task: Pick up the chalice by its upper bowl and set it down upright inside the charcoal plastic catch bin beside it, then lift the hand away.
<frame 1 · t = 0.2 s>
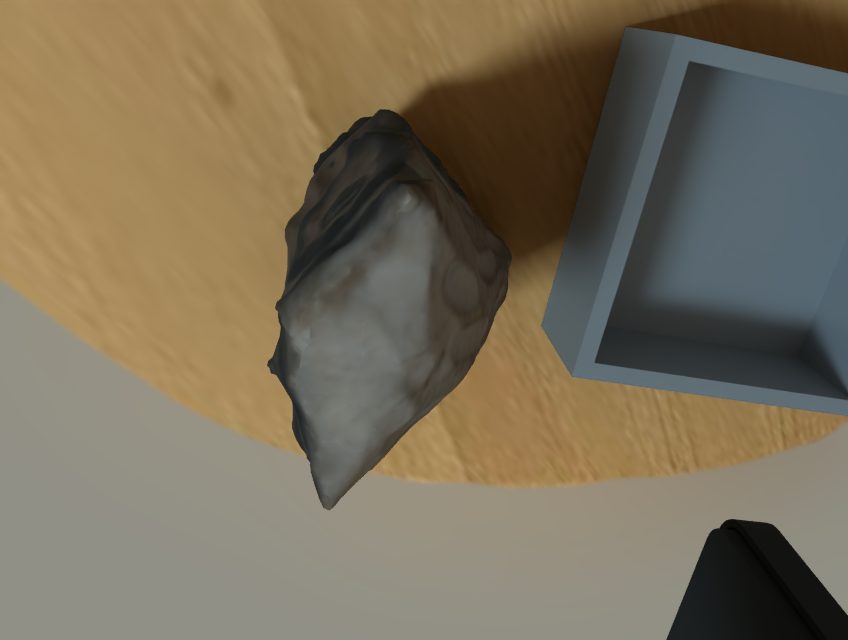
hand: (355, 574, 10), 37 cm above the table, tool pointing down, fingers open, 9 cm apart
catch bin: (720, 212, 48), on the table
grey faceted rock: (396, 238, 47), on the table
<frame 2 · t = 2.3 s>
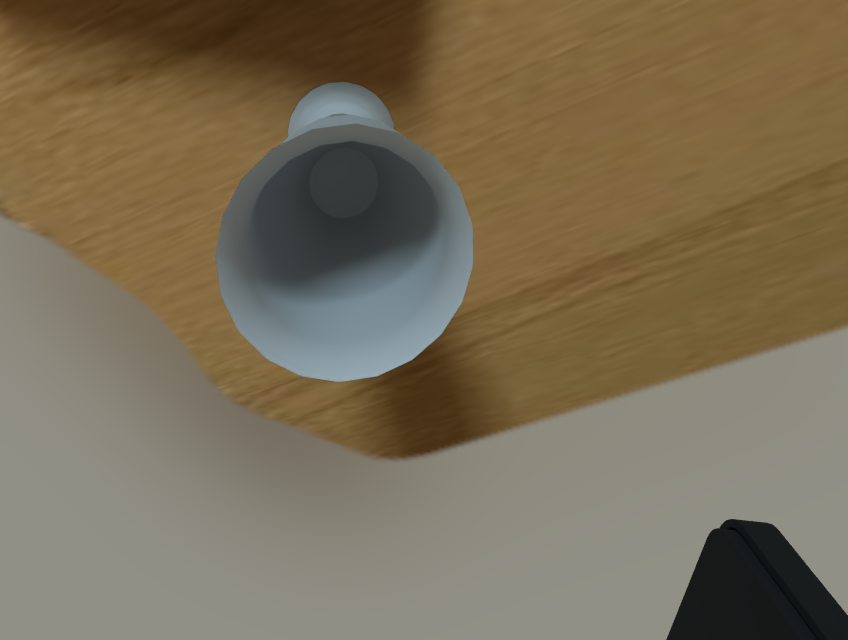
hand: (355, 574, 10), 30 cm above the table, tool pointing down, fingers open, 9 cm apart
chalice: (341, 136, 38), on the table
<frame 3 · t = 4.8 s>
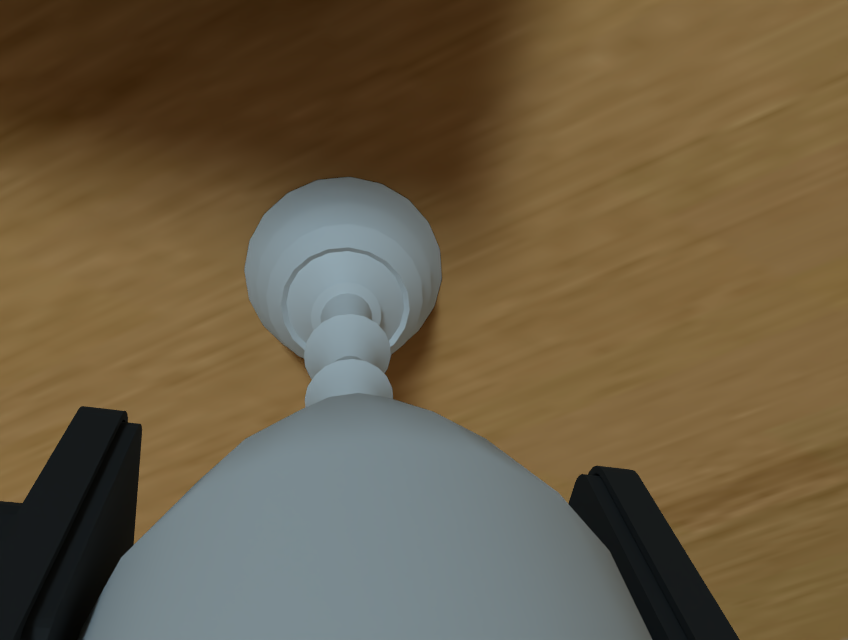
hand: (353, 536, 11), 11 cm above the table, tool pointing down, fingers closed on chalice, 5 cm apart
chalice: (344, 272, 21), on the table, touching gripper
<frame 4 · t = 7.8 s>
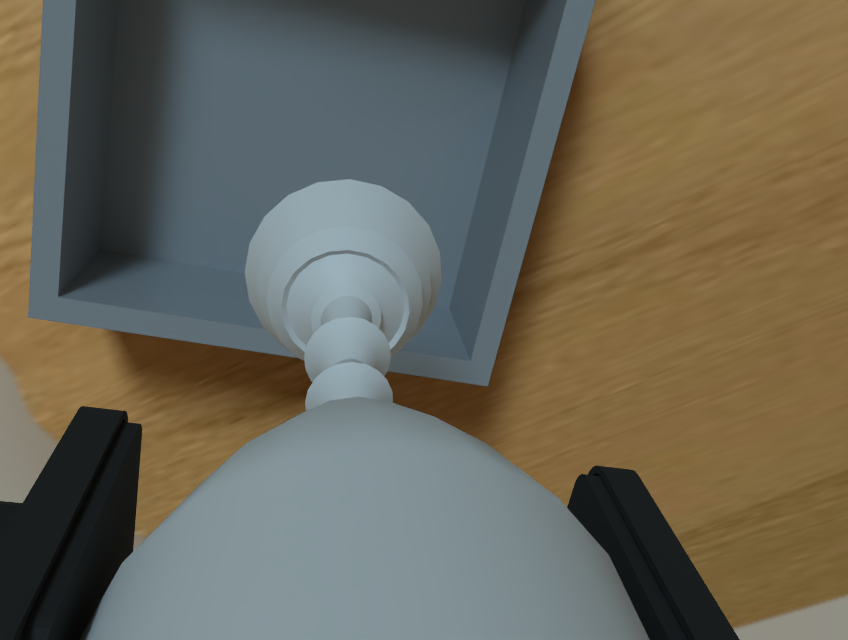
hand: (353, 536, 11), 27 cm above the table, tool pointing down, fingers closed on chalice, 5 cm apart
catch bin: (311, 101, 35), on the table
chalice: (344, 274, 21), point 16 cm above the table, touching gripper
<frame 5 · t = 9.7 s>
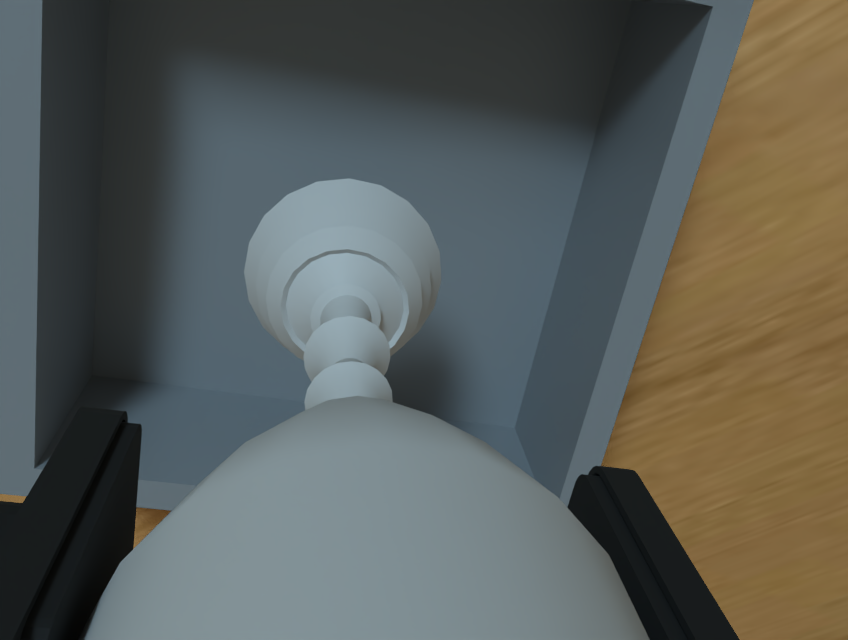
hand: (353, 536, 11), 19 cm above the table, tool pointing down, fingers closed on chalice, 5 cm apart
catch bin: (345, 191, 28), on the table
chalice: (344, 273, 21), point 8 cm above the table, touching gripper
when the fingers open (13 cm above the table, at t = 11.3 s): chalice drops 1 cm, resting on catch bin.
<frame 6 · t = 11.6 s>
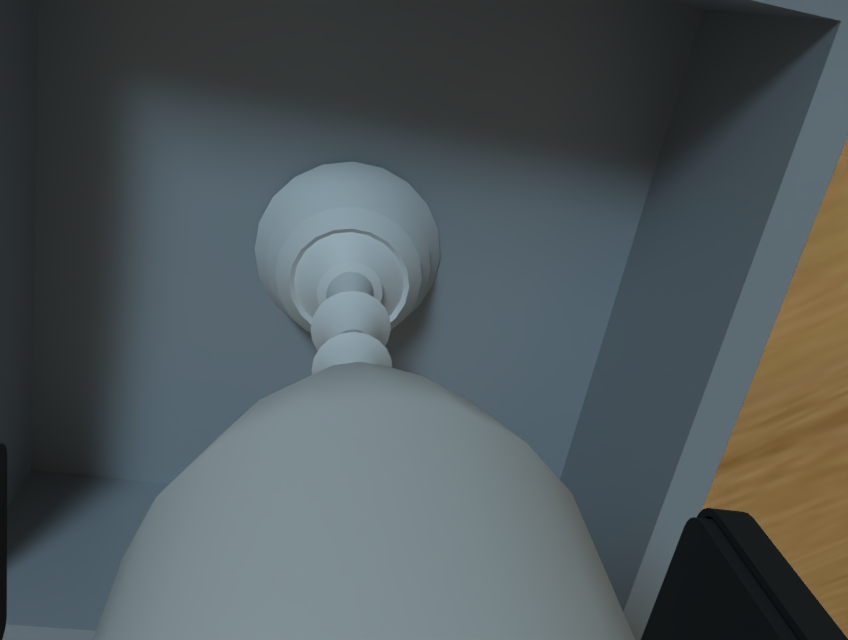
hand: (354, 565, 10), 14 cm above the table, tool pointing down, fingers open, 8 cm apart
catch bin: (343, 245, 23), on the table
chalice: (348, 251, 22), point 1 cm above the table, touching catch bin
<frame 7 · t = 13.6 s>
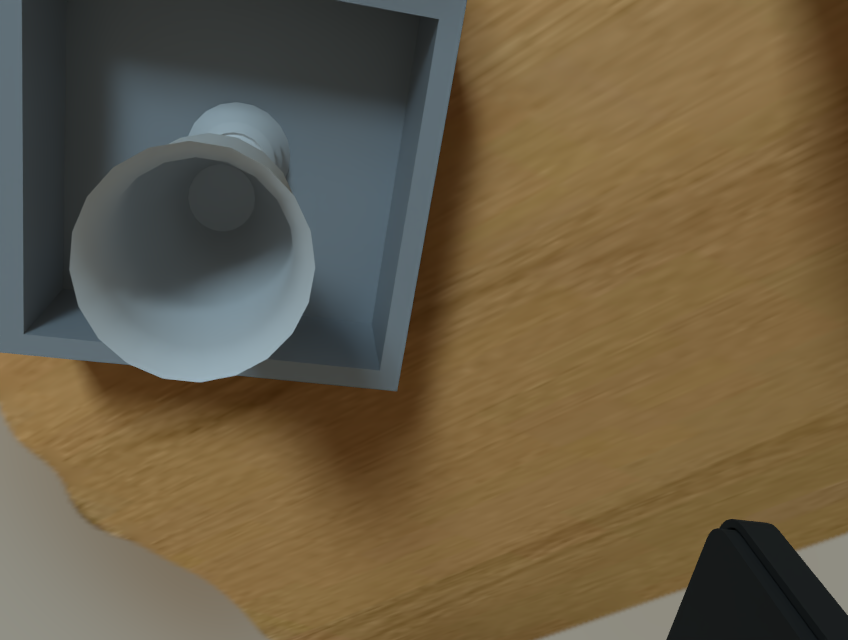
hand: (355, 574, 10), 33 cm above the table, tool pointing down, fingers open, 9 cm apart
catch bin: (237, 153, 40), on the table
chalice: (238, 154, 40), point 1 cm above the table, touching catch bin
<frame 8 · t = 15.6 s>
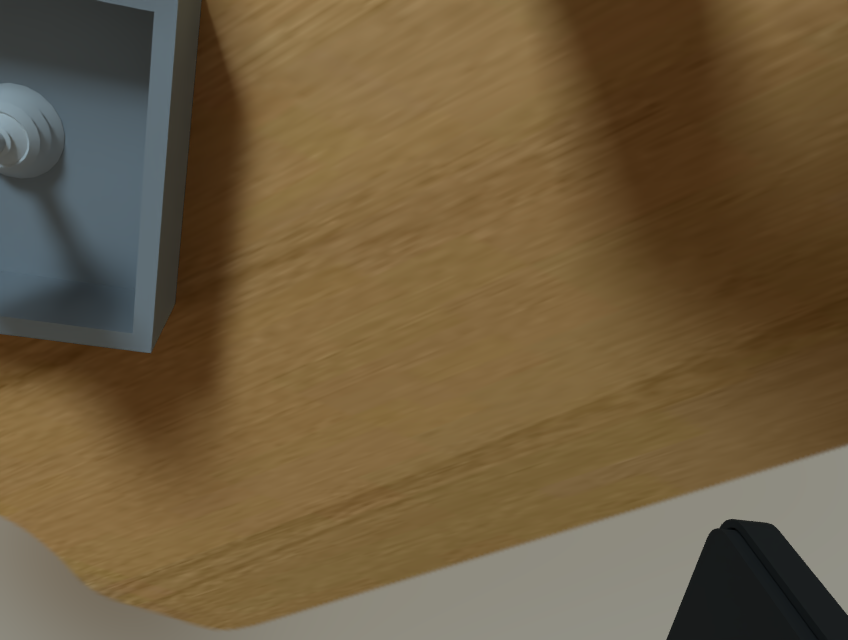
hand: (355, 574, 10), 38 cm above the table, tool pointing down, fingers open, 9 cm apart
catch bin: (19, 130, 44), on the table
chalice: (16, 131, 43), point 1 cm above the table, touching catch bin
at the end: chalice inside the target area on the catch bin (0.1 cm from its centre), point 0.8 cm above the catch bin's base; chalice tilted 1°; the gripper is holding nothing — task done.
